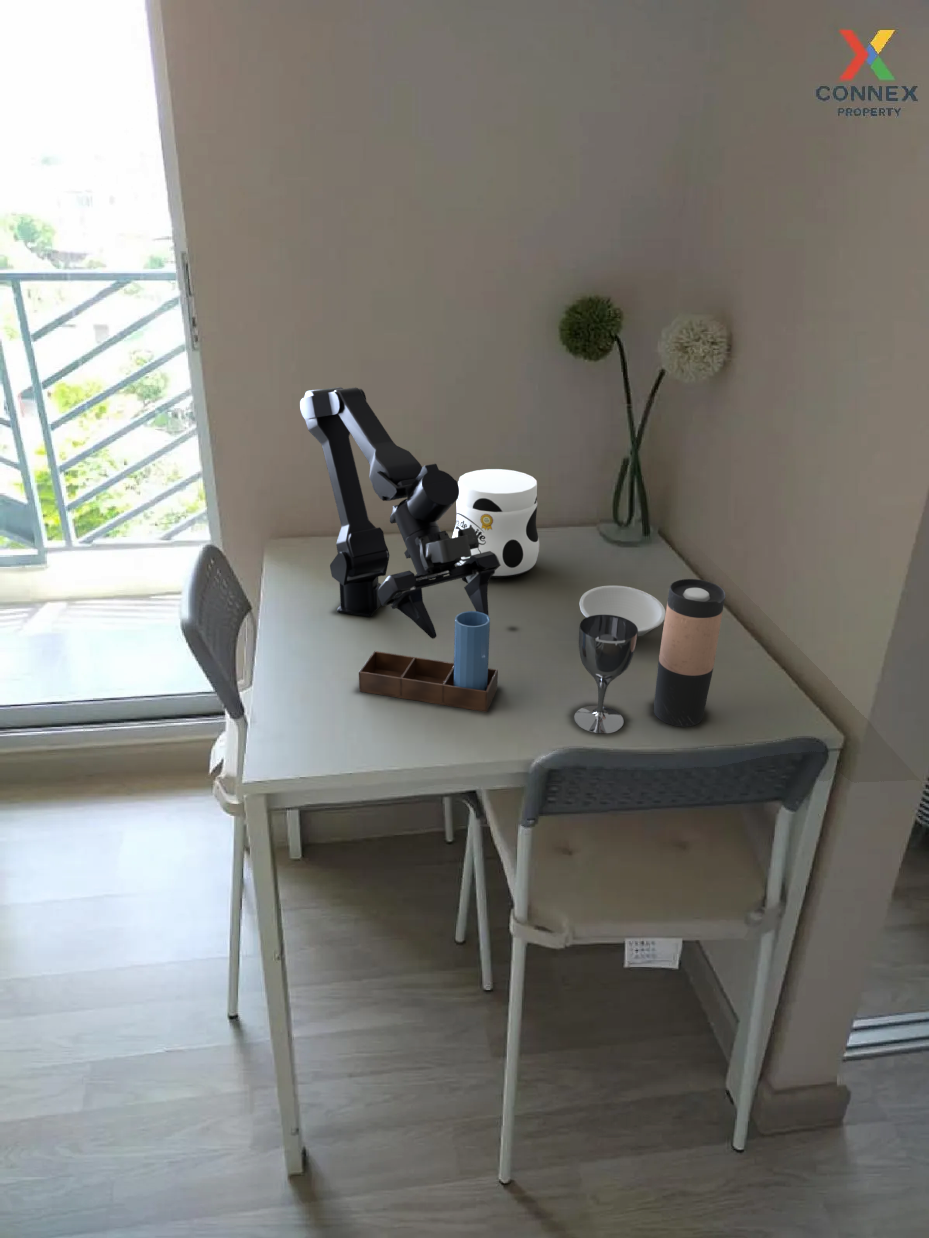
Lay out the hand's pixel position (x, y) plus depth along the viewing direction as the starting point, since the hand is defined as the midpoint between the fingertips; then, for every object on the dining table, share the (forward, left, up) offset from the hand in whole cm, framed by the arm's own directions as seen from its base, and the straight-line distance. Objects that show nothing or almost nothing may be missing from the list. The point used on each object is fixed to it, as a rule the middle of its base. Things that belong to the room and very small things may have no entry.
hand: (460, 629), depth 129 cm
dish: (+22, +26, -10) cm, 35 cm away
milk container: (-5, +47, -10) cm, 48 cm away
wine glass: (+22, -2, -10) cm, 24 cm away
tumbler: (+2, -2, -9) cm, 10 cm away
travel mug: (+33, +3, -10) cm, 34 cm away
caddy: (-4, -2, -10) cm, 11 cm away
